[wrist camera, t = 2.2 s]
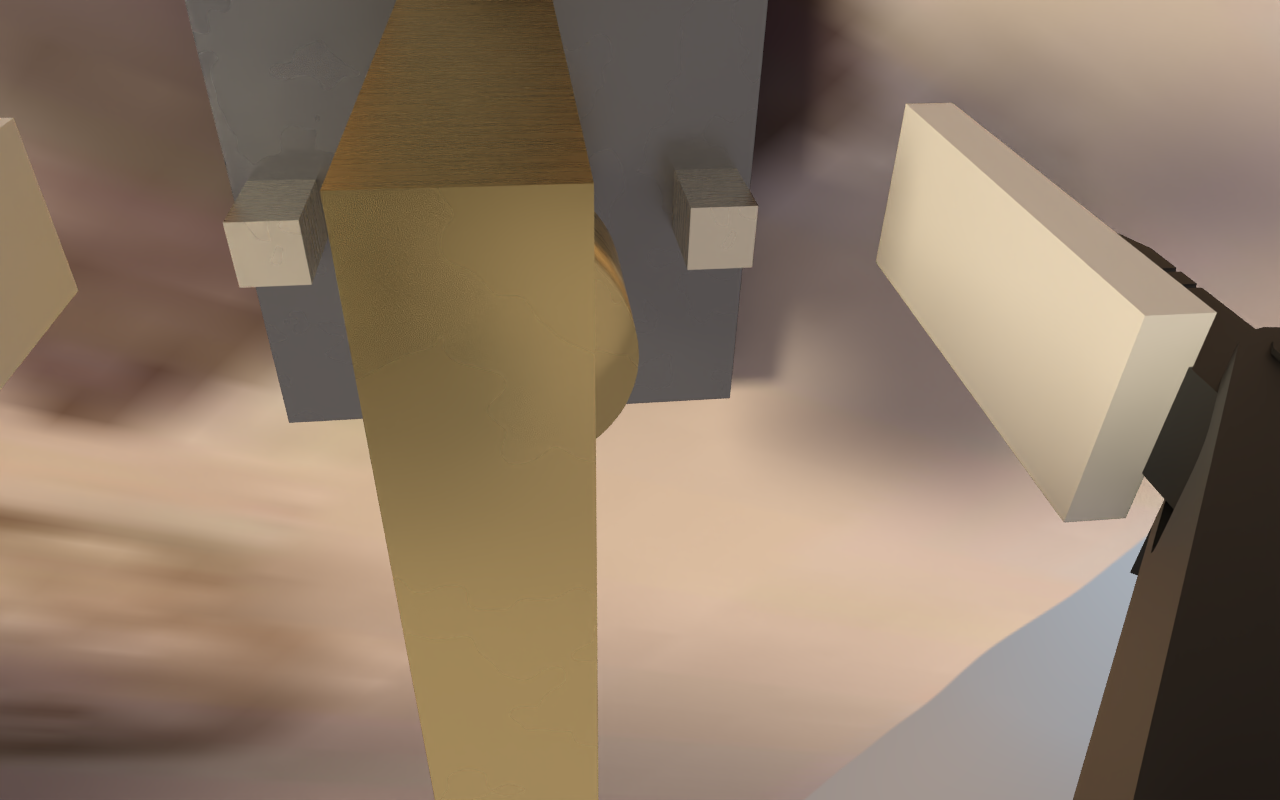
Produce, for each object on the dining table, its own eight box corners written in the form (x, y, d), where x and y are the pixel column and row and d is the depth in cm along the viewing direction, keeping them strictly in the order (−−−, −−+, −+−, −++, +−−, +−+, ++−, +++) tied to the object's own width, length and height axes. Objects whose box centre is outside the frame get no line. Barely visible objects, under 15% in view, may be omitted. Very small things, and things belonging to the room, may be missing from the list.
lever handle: (416, 513, 29) (369, 951, 18) (327, -43, 20) (133, 196, 9) (618, 499, 30) (685, 912, 19) (624, -42, 20) (760, 179, 10)
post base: (299, 391, 34) (259, 517, 29) (186, -92, 25) (95, -46, 19) (719, 369, 36) (760, 483, 30) (758, -88, 27) (828, -44, 21)
